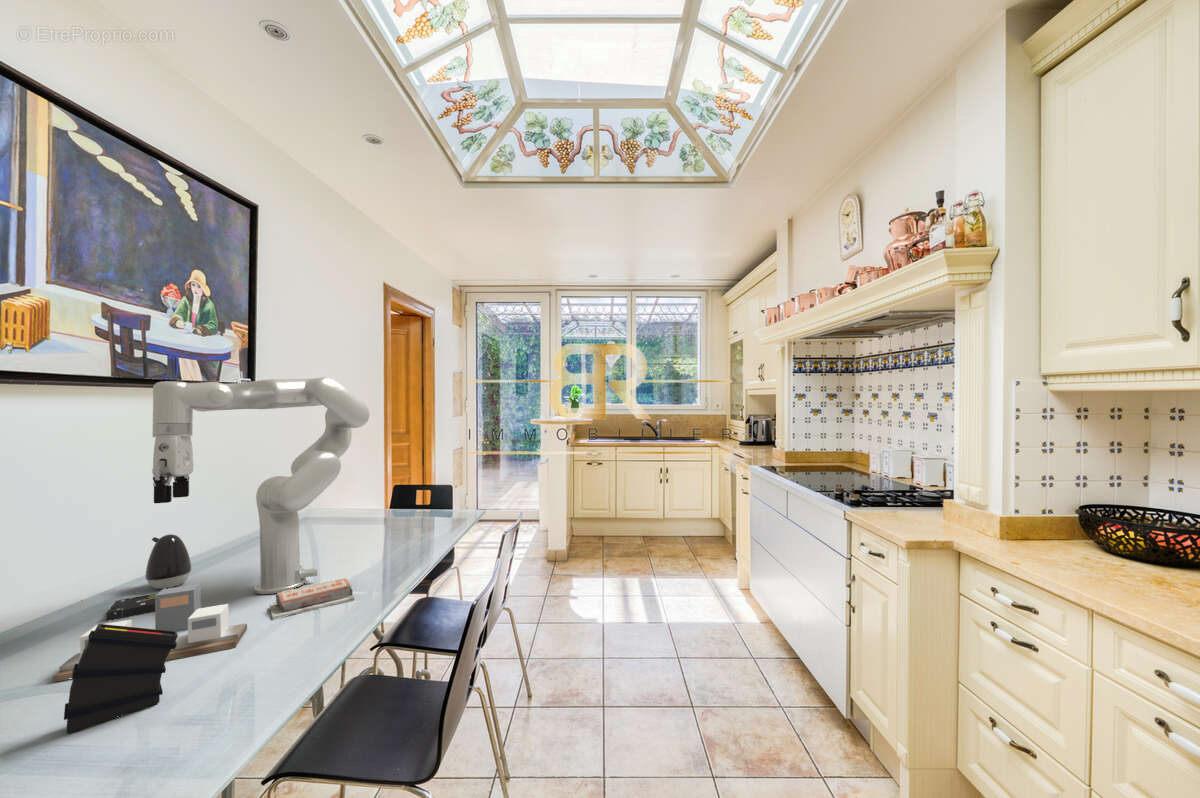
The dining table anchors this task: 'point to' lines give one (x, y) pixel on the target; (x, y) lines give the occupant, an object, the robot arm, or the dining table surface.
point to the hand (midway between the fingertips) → (172, 499)
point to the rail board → (176, 649)
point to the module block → (176, 607)
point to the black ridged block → (117, 674)
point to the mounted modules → (200, 625)
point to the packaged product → (311, 598)
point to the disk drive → (131, 607)
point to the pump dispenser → (168, 563)
